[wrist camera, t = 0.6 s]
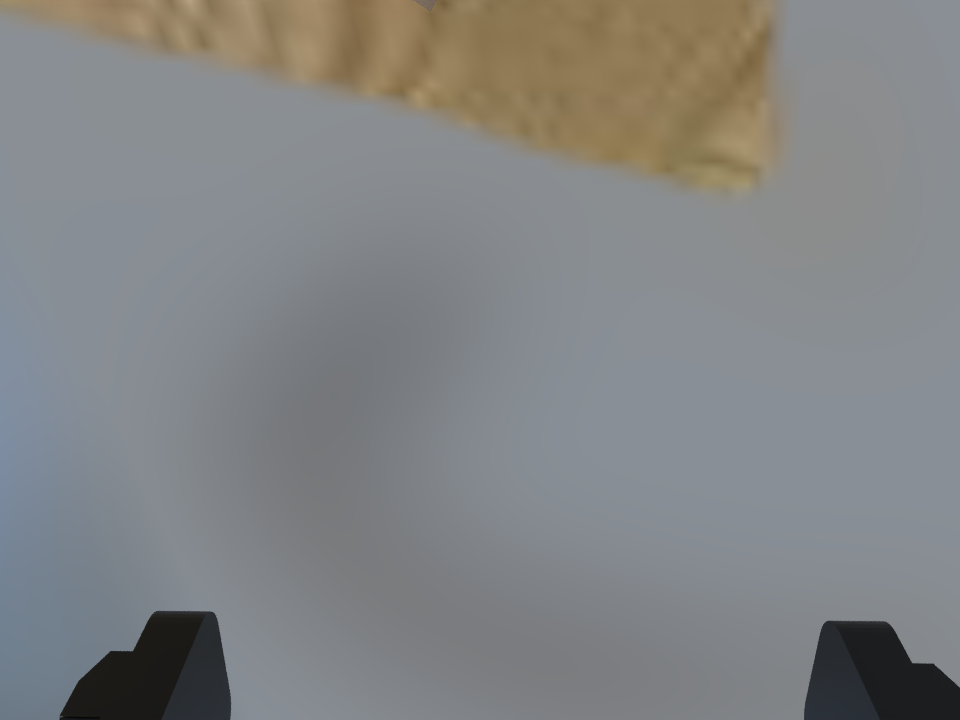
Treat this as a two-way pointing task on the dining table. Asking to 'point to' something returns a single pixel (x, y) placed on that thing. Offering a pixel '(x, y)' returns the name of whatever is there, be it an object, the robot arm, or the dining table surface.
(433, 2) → the walnut plinth
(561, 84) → the dining table surface
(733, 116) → the dining table surface
